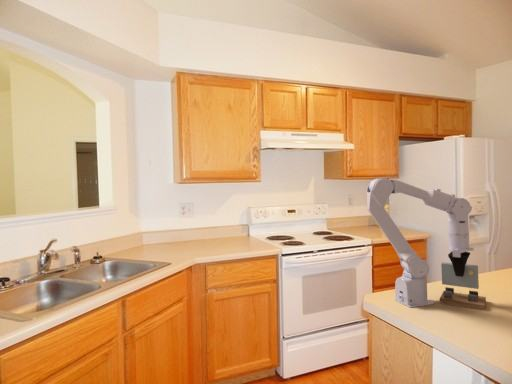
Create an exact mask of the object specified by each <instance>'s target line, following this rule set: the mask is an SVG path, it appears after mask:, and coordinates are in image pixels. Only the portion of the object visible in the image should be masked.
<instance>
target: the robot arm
mask: <svg viewBox="0 0 512 384" xmlns="http://www.w3.org/2000/svg"><path fill="white" fill-rule="evenodd" d="M365 191H366V197H367V200H366V201H367V211H368V212H369V214H370V215H371V217H372V218H373V220H374V221H375V222H376V224H377V226H378V227H379V228H380V230H381V231H382V233H383V234H384V236H385V237H386V239H387V240H388V242H389V243H390V244H391V245H392V247H393V249H394V250H395V252H396V254H397V257H398V259H399V261H400V266H401V267H402V269H403V271H402V275H401V276H400V277H396V280H395V283H394V285H395V286H394V288H395V289H394V291H395V297H394V301H396V302H398V303H399V304H402V305H403V306H406V307H408V308H416V307H423V306H429V305H434V304H435V303H434V301H431V300H429V299H428V283H427V282H428V280H427V279H428V277H427V276H428V274H429V271H430V265H429V264H428V262H427V261H426V260H425V259H423V258H421V257H420V256H419V254H418V253H417V252H416V250H414V249H413V248H412V246H411V245H410V244H409V242H408V241H407V239H406V237H405V236H404V235H403V233H402V232H401V231H400V229H399V228H398V226H397V224H396V223H395V222H394V220H393V219H392V218H391V216H390V214H389V213H388V211H387V210H386V209H385V207H386V203H387V200H388V199H389V197H390V196H391V195H392V194H399V193H400V194H403V195H406V196H409V197H413V198H416V199H420V200H422V201H423V202H424V205H425V206H429V207H431V208H435V209H436V210H440V211H442V212H446V213H447V229H448V231H447V232H448V235H447V236H448V247H447V248H448V250H449V251H450V252H449V253H448V256H447V257H448V258H449V260H450V263H452V265H453V268H454V272H455V275H456V276H461V277H463V276H464V271H465V265H466V264H468V263H467V261H468V259H469V257H470V255H471V252H472V251H474V250H475V249H474V247H471V246H470V231H469V229H470V227H469V226H470V225H469V215H470V213H471V212H472V210H473V206H472V205H471V203H470V202H469V201H468V199H466V198H463V197H456V195H455V194H453V193H450V194H449V193H446V192H443V191H442V189H440V188H435V189H434V188H432V189H429V190H426V189H422V188H419V187H417V186H414V185H412V184H408V183H406V182H404V181H402V180H397V179H392V178H388V177H380V178H379V177H378V178H377V177H376V178H373V179H371V180H370V182H369V183H368V185H367V188H366V190H365ZM470 251H471V252H470Z"/></svg>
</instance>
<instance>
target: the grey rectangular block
mask: <svg viewBox="0 0 512 384" xmlns="http://www.w3.org/2000/svg"><path fill="white" fill-rule="evenodd" d="M440 265H441V266H440V267H441V284H442V285H445V286H453V287H458V288H459V287H461V288H466V289H467V288H468V289H476V290H479V288H480V286H479V284H480V283H479V266H478V265H477V264H468V263H466V265H465V271H464V276H463V277H461V276H456V275H455V272H454V268H453V265H452V262H444V261H442V262H441V264H440Z"/></svg>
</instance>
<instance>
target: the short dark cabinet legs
mask: <svg viewBox="0 0 512 384" xmlns="http://www.w3.org/2000/svg"><path fill="white" fill-rule="evenodd" d="M444 289H445V290H443V291H442V293H443V295H444V297H445V298H451V299H452V295H454V292H455V288H454V287H448V286H446V287H444ZM478 296H479V291H477V290H468V301H471V302H477V298H478Z"/></svg>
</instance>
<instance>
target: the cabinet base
mask: <svg viewBox="0 0 512 384" xmlns="http://www.w3.org/2000/svg"><path fill="white" fill-rule="evenodd" d="M468 294H469V293H468ZM468 294H467V293H461V292H455V291H454V295H452V299H451V298H445V297H444V295H443V292H442V293H441V295H440V296H439V304H444V305H449V306H456V307H461V308H468V309H474V310H480V311H485V308H486V304H487V299H486V298H487V297H486V296H483V295H482V296H481V295H478V298H477V302H471V301H468Z"/></svg>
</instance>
